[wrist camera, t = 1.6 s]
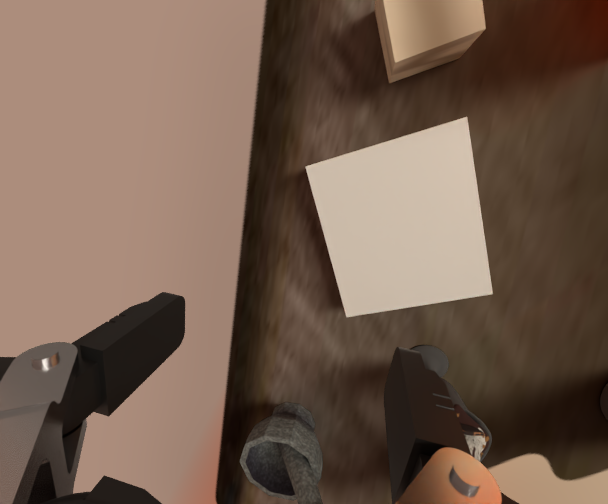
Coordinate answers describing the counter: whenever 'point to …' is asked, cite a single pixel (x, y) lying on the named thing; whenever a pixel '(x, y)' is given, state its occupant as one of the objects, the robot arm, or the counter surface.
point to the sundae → (458, 404)
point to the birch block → (426, 33)
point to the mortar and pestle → (285, 455)
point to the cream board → (404, 221)
